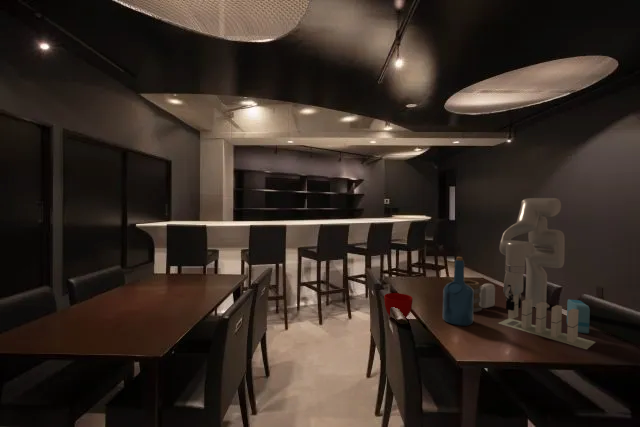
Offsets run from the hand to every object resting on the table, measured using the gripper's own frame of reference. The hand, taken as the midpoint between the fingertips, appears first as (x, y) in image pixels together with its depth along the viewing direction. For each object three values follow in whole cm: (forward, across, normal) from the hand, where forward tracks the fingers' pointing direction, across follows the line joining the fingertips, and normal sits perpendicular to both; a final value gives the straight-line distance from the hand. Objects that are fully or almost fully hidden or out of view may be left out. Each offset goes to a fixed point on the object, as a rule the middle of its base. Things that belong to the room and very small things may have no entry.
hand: (513, 308), depth 145 cm
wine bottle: (+8, +19, -16) cm, 26 cm away
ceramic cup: (+8, +37, -36) cm, 52 cm away
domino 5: (+7, 0, +22) cm, 23 cm away
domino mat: (+7, 0, +12) cm, 14 cm away
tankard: (+8, -5, -28) cm, 29 cm away
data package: (+8, -18, +19) cm, 27 cm away
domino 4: (+7, 0, +16) cm, 18 cm away
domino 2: (+7, 0, +6) cm, 9 cm away
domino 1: (+4, 0, 0) cm, 4 cm away
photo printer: (+7, -17, -20) cm, 27 cm away
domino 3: (+7, 0, +11) cm, 13 cm away
